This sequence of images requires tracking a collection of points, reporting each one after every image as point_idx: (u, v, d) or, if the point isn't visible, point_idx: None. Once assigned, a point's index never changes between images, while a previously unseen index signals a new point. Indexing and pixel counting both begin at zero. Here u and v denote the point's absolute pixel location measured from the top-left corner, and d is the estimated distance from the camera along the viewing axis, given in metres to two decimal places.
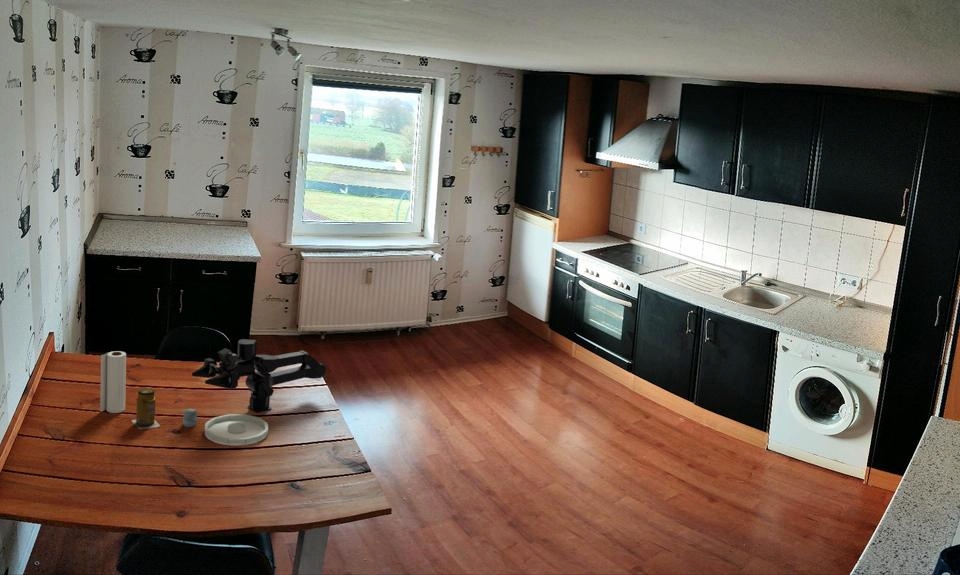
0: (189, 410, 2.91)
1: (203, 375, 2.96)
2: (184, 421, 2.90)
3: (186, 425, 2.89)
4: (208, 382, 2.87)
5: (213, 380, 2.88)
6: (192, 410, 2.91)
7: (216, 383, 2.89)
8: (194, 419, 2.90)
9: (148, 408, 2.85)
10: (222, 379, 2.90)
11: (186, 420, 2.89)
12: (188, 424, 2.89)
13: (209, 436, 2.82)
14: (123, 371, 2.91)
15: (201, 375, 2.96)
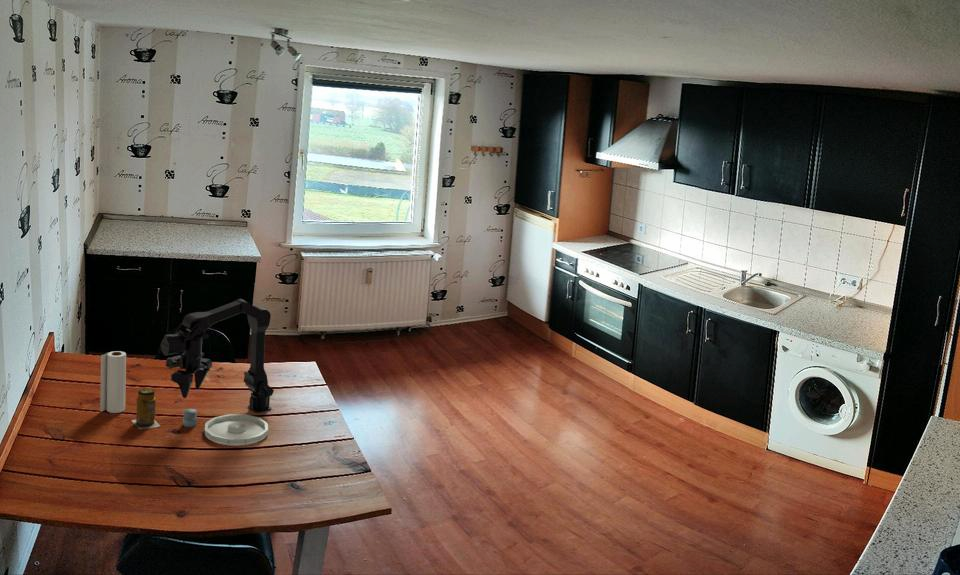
0: (189, 410, 2.91)
1: (202, 377, 2.92)
2: (184, 421, 2.90)
3: (186, 425, 2.89)
4: (184, 395, 2.84)
5: (182, 391, 2.83)
6: (192, 410, 2.91)
7: (185, 389, 2.82)
8: (194, 419, 2.90)
9: (148, 408, 2.85)
10: None
11: (186, 420, 2.89)
12: (188, 424, 2.89)
13: (209, 436, 2.82)
14: (123, 371, 2.91)
15: (201, 379, 2.92)
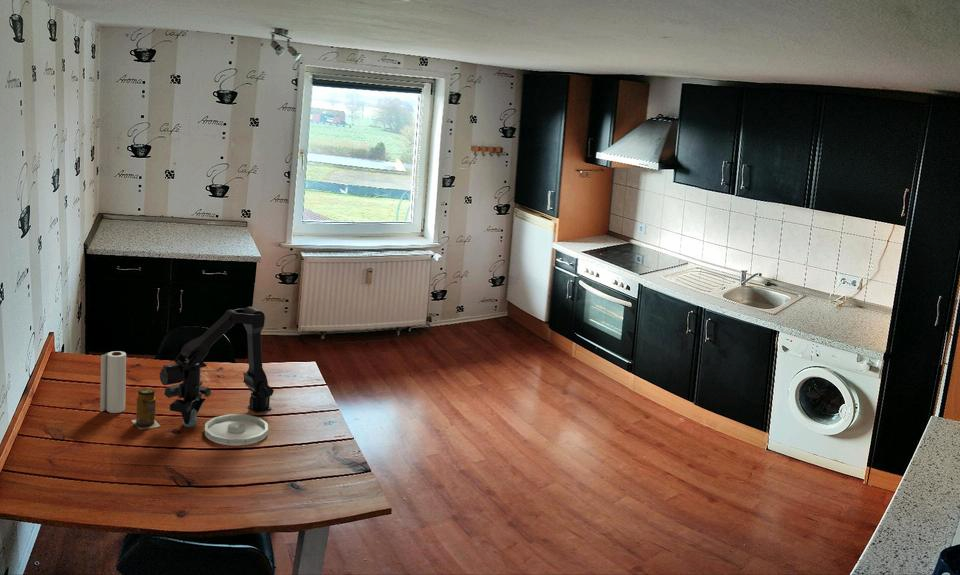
0: None
1: (197, 407, 2.93)
2: None
3: (186, 425, 2.89)
4: (186, 422, 2.88)
5: (184, 418, 2.88)
6: None
7: (187, 416, 2.87)
8: (194, 419, 2.90)
9: (148, 408, 2.85)
10: None
11: None
12: (188, 424, 2.89)
13: (209, 436, 2.82)
14: (123, 371, 2.91)
15: None
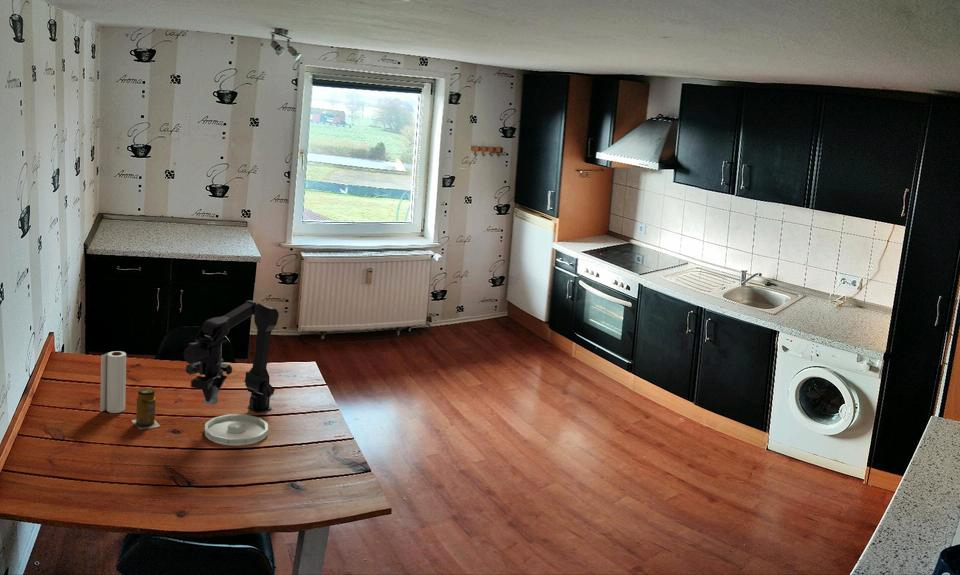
0: None
1: (218, 385, 2.90)
2: None
3: (207, 402, 2.87)
4: (207, 399, 2.86)
5: (205, 395, 2.85)
6: None
7: (208, 393, 2.84)
8: (215, 396, 2.87)
9: (148, 408, 2.85)
10: None
11: None
12: (209, 401, 2.86)
13: (209, 436, 2.82)
14: (123, 371, 2.91)
15: (218, 387, 2.90)
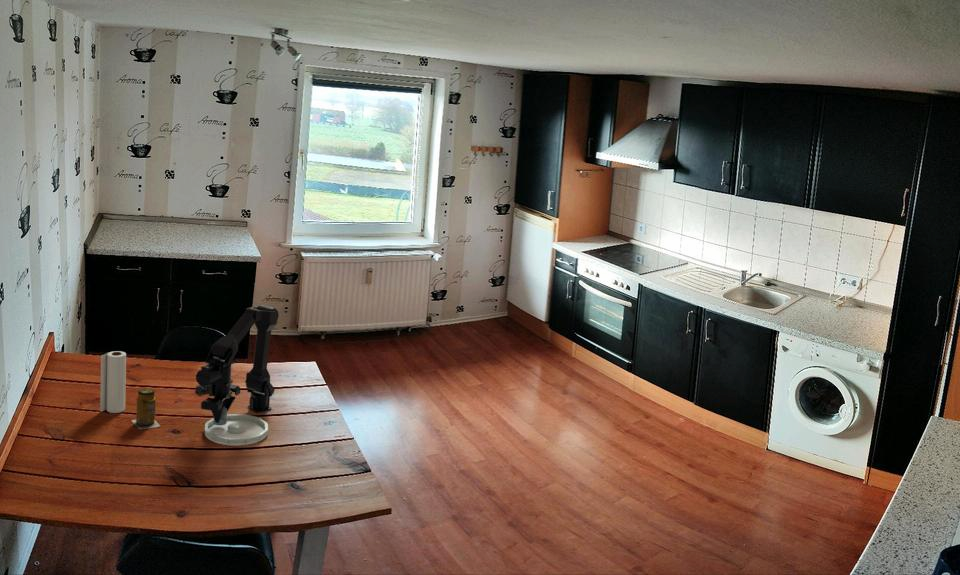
0: None
1: (227, 406, 2.91)
2: None
3: (216, 423, 2.88)
4: (216, 420, 2.87)
5: (215, 416, 2.86)
6: None
7: (218, 414, 2.85)
8: (224, 417, 2.88)
9: (148, 408, 2.85)
10: None
11: None
12: (219, 422, 2.88)
13: (209, 436, 2.82)
14: (123, 371, 2.91)
15: None
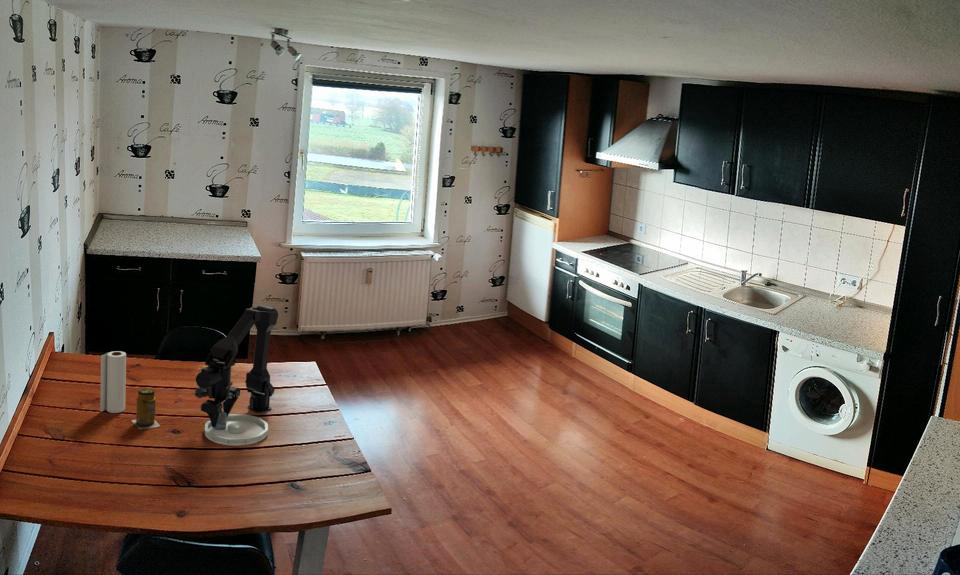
0: None
1: (230, 405, 2.93)
2: None
3: (216, 428, 2.88)
4: (213, 425, 2.85)
5: (211, 421, 2.84)
6: (222, 413, 2.90)
7: (215, 419, 2.83)
8: (224, 422, 2.89)
9: (148, 408, 2.85)
10: None
11: None
12: (218, 427, 2.88)
13: (209, 436, 2.82)
14: (123, 371, 2.91)
15: (229, 408, 2.93)
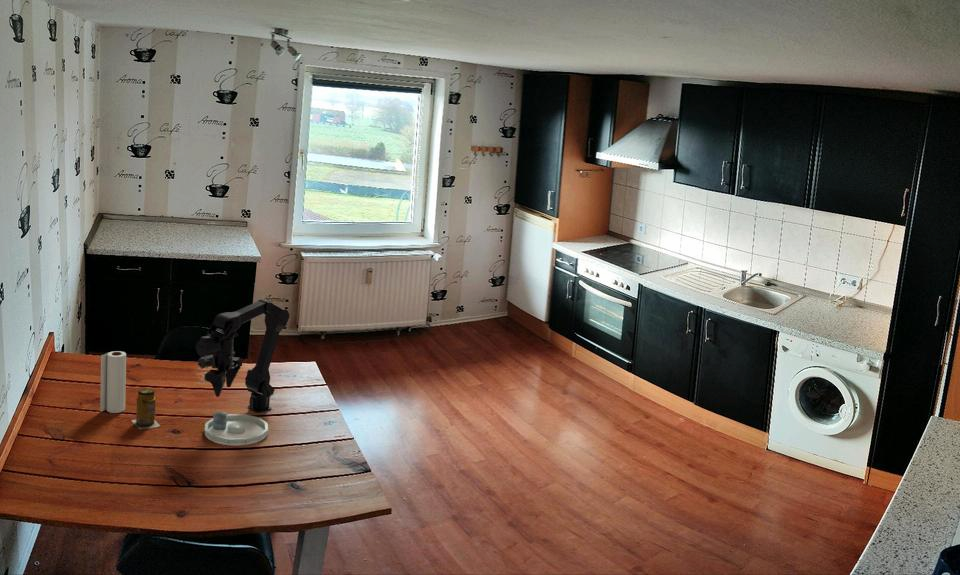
0: (219, 413, 2.90)
1: (233, 375, 2.97)
2: (214, 424, 2.88)
3: (216, 428, 2.88)
4: (217, 394, 2.89)
5: (215, 390, 2.88)
6: (222, 413, 2.90)
7: (218, 388, 2.87)
8: (224, 422, 2.89)
9: (148, 408, 2.85)
10: None
11: (217, 422, 2.88)
12: (218, 427, 2.88)
13: (209, 436, 2.82)
14: (123, 371, 2.91)
15: (232, 378, 2.97)
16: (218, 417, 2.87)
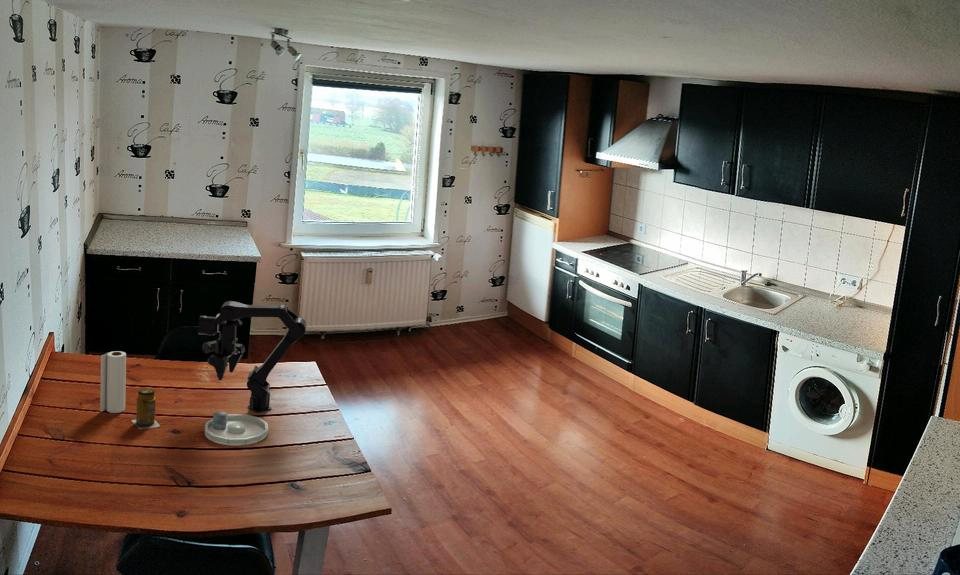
0: (219, 413, 2.90)
1: (235, 361, 3.10)
2: (214, 424, 2.88)
3: (216, 428, 2.88)
4: (220, 378, 3.02)
5: (218, 374, 3.01)
6: (222, 413, 2.90)
7: (221, 372, 3.00)
8: (224, 422, 2.89)
9: (148, 408, 2.85)
10: None
11: (217, 422, 2.88)
12: (218, 427, 2.88)
13: (209, 436, 2.82)
14: (123, 371, 2.91)
15: (234, 363, 3.11)
16: (218, 417, 2.87)
